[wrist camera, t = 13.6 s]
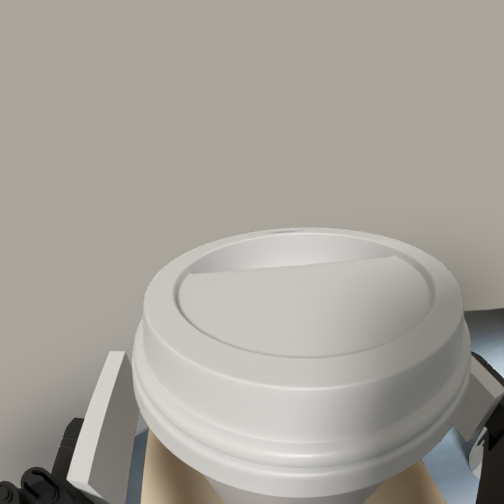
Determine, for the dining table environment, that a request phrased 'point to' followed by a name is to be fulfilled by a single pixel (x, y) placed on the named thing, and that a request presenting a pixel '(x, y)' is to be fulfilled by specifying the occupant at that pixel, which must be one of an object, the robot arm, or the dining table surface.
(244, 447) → the coffee cup
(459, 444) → the dining table surface
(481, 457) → the shot glass
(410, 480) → the riser block
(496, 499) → the robot arm
